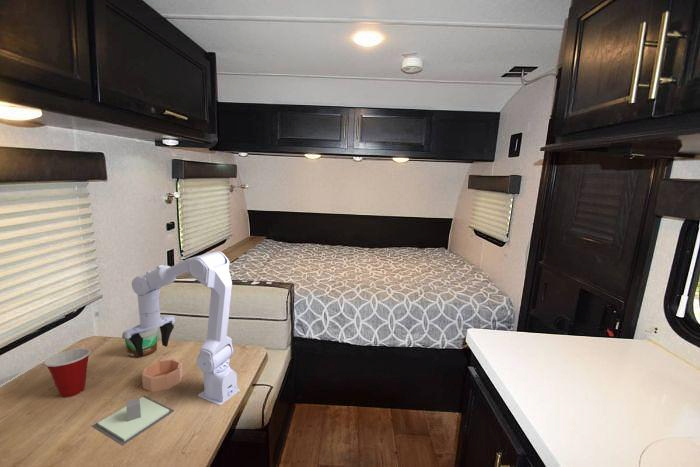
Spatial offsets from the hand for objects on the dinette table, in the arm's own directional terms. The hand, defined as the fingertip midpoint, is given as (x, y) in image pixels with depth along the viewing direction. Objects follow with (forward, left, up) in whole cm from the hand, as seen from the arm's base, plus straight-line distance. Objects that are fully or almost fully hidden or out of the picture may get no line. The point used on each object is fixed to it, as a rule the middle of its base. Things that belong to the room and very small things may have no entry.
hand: (153, 350), depth 107 cm
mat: (-13, +15, -10) cm, 22 cm away
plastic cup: (+16, +16, -10) cm, 25 cm away
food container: (+18, -8, -10) cm, 22 cm away
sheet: (-13, +15, -10) cm, 22 cm away
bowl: (-4, 0, -10) cm, 11 cm away
